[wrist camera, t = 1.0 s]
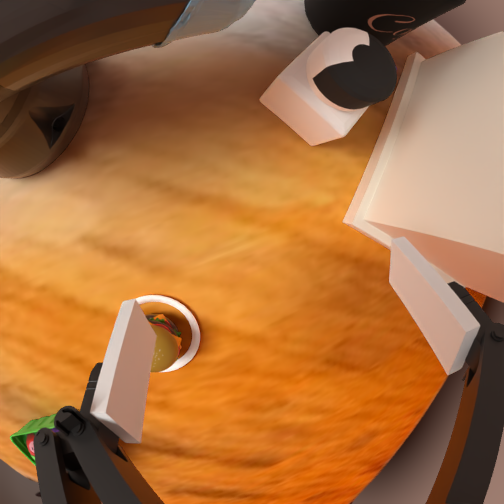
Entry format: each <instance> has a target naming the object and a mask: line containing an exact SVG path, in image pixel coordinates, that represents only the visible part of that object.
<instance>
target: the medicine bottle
mask: <svg viewBox="0 0 504 504" xmlns="http://www.w3.org/2000/svg"><path fill="white" fill-rule="evenodd" d="M396 80H397V74H396V67H395V63H394V60H393V58H392V56H391V54H390V53H389V51H388V50H387V48H386V47H385V46H384V45H383V44H382V43H381V42H380V41H379V40H378V39H377V38H376V37H374V36H373V35H371V34H369V33H367V32H365V31H362V30H360V29H356V28H340V29H337V30H335V31H333V32H332V33H331V34H330V33H329V32H327V31H326V32H323V33H322V34H321V35H320V36H319V37H318V38H317V39H316V40H314V41H313V42H312V43H311V44H310V45H309V46H308V47H307V48H306V49H305V50H304V51H303V52H302V53H301V54H300V55H299V56H298V57H296V58H295V59H294V60H293V61H292V62H291V63H290V64H289V65H288V66H287V67H286V68H285V69H284V70H283V71H282V72H281V73H280V74H279V75H278V76H277V78H276V79H275V80H274V81H273V82H272V84H271V85H270V86H269V87H268V88H267V90H266V91H265V92H264V93H263V95H262V96H261V97H260V102H261V103H262V104H263V105H264V106H266V107H267V108H268V109H269V110H271V111H272V112H273V113H274V114H275V115H276V116H278V117H279V118H280V119H281V120H282V121H283V122H285V123H286V124H287V125H288V126H289V127H290V128H291V129H293V130H294V131H295V132H296V133H297V134H298V135H299V136H300V137H302V138H303V139H304V140H305V141H306V142H307V143H308V144H309V145H311V146H315V145H319V144H322V143H325V142H328V141H332V140H335V139H338V138H342V137H344V136H346V135H347V133H348V132H349V131H350V130H351V128H352V127H353V126H354V124H355V123H356V122H357V121H358V119H359V118H360V117H361V116H362V114H363V113H364V112H365V111H366V109H367V108H368V107H369V106H370V105H372V104H375V103H378V102H380V101H383V100H385V99H386V98H388V97H389V96H390V95H391V94H392V92H393V91H394V89H395V86H396Z"/></svg>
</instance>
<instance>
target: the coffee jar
mask: <svg viewBox="0 0 504 504" xmlns="http://www.w3.org/2000/svg"><path fill="white" fill-rule="evenodd" d="M465 1H466V0H305V1H304V3H305V12H306V15H307V18H308V20H309V22H310V24H311V26H312V28H313V29H314V30H315V31H316V32H317V33H318V35H319V36H320V35H321V34H322V33H323V32H326V31H327V32H329V33H330V34H331V33H332V32H333V31H335V30H337V29H340V28H356V29H360V30H362V31H365V32H367V33H369V34H371V35H373V36H374V37H376V38H377V39H378V40H379V41H380V42H381V43H382V44H383V45H384V46H386V45H388V44H390V43H391V42H393V41H395V40H396V39H398V38H400V37H401V36H403V35H405V34H407V33H408V32H410V31H412V30H414V29H416V28H417V27H419V26H421V25H423V24H425V23H427V22H428V21H430V20H432V19H434V18H436V17H438V16H440V15H442V14H444V13H446V12H448V11H450V10H452V9H454V8H456V7H458V6H460V5H462V4H464V3H465Z"/></svg>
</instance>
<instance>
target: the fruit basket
mask: <svg viewBox="0 0 504 504" xmlns="http://www.w3.org/2000/svg"><path fill="white" fill-rule="evenodd" d="M55 416H56V414H53V415H51V416H50V417H49V416H46V417H42V418H40V419H39V420H38V419H35V420H31V421H30V422H29V423H27V424H26V425H25V426H24V427H23V428H21V429H20V430H19V431H18V432H16V433H14V434H13V435H11V436H10V439H11V441H12V442H13V443H14V444H15V445H16V446H17V448H18V449H19V450H20V451H21V452H22V453H23V454H24V455H25V456H26V457H27V458H28V459H29V460H30V461H31V462H32V463H33V464H34V465H35V466H36V462H35V454H34V445H33V440H34V436H35V434H36V433H37V431H38V430H40V429H41V428H45V427H46V428H49V429H51V430H52V431H53V432H58V431H59V430H58V429H56V428H55V427H54V418H55Z"/></svg>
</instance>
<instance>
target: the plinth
mask: <svg viewBox="0 0 504 504" xmlns="http://www.w3.org/2000/svg"><path fill="white" fill-rule="evenodd" d="M343 223H345V224H347V225H348V226H350V227H352V228H354V229H355V230H357V231H359V232H361V233H362V234H364V235H366V236H367V237H369V238H371V239H373V240H374V241H376V242H378V243H379V244H381V245H383V246H384V247H386V248H388V249H389V250H391V239H395V238H399V237H403V236H404V237H405V238H406V239H407V240H408V241H409V242H410V243H411V244H412V245H413V246H414V247H415V248H416V249H417V250H418V252H419V253H420V254H421V255H422V256H423V257H424V258H425V259H426V260H427V261H428V262H429V264H430V265H431V266H432V267H433V268H434V269H435V270H436V271H437V273H438V274H439V275H440V276H441V277H442V278H443V279H444V281H445V282H446V283H450V282H453V281H455V282H456V283H458V284H460V285H461V286H463V287H464V288H465V287H468V288H470V289H472V290H475V291H477V292H480V293H482V294H484V295H487V296H489V297H491V298H494V299H496V300H498V301H501V302H503V303H504V31H502V32H499V33H496V34H493V35H490V36H487V37H484V38H481V39H478V40H475V41H472V42H470V43H467V44H464V45H461V46H459V47H456V48H453V49H451V50H448V51H446V52H443V53H441V54H438V55H436V56H433V57H431V58H429V59H425V58H424V57H423V56H422V55H420V54H419V53H418V52H415V53H413V54H411V55H409V56H407V60H406V63H405V66H404V69H403V72H402V74H401V77H400V80H399V83H398V86H397V89H396V92H395V94H394V97H393V100H392V103H391V105H390V108H389V111H388V114H387V116H386V119H385V121H384V124H383V127H382V129H381V132H380V134H379V137H378V140H377V142H376V145H375V147H374V150H373V152H372V154H371V157H370V159H369V162H368V164H367V167H366V169H365V171H364V174H363V176H362V179H361V181H360V183H359V186H358V188H357V190H356V193H355V195H354V197H353V199H352V202H351V204H350V206H349V208H348V211H347V213H346V215H345V217H344V220H343Z"/></svg>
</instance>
